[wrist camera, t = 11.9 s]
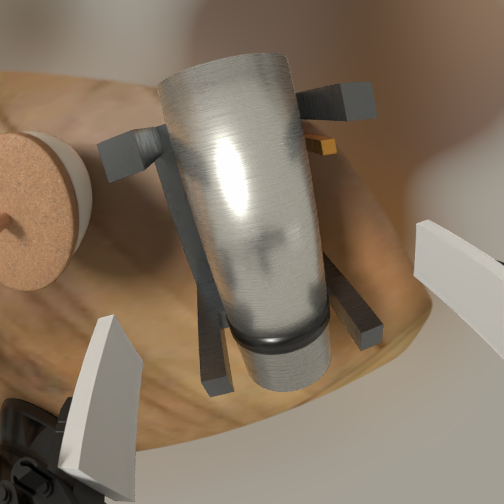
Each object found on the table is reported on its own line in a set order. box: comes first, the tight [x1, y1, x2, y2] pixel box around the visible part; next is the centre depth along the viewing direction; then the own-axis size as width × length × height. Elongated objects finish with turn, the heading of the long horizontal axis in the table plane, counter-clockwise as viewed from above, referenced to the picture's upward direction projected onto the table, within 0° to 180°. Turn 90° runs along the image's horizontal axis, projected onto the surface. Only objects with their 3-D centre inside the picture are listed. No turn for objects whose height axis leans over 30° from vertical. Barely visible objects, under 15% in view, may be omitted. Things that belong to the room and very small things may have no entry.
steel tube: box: [157, 53, 331, 392], centre depth 15 cm, size 18×6×6 cm, turn 13°
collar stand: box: [97, 82, 383, 397], centre depth 18 cm, size 12×15×12 cm
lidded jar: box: [0, 131, 93, 291], centre depth 16 cm, size 11×11×9 cm
